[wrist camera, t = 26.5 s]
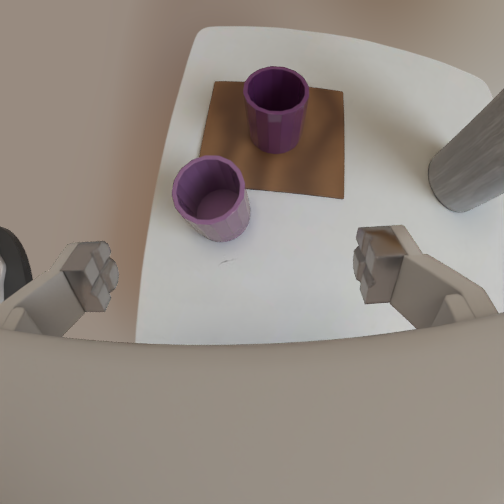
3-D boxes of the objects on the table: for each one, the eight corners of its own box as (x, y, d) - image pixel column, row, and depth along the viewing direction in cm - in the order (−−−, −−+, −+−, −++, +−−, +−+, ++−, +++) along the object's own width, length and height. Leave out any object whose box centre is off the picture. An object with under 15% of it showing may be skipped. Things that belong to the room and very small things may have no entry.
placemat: (194, 185, 41) (194, 184, 41) (215, 82, 43) (215, 81, 43) (343, 199, 40) (343, 198, 39) (342, 93, 42) (342, 91, 42)
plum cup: (238, 129, 41) (230, 87, 32) (276, 102, 42) (277, 58, 32) (273, 164, 40) (274, 126, 31) (312, 134, 41) (322, 92, 31)
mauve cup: (183, 212, 41) (158, 187, 31) (225, 177, 41) (213, 142, 31) (218, 253, 40) (201, 239, 30) (262, 216, 40) (259, 190, 30)
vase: (471, 158, 40) (573, 73, 13) (480, 216, 38) (606, 154, 11) (423, 147, 40) (521, 36, 13) (431, 209, 39) (564, 124, 12)
